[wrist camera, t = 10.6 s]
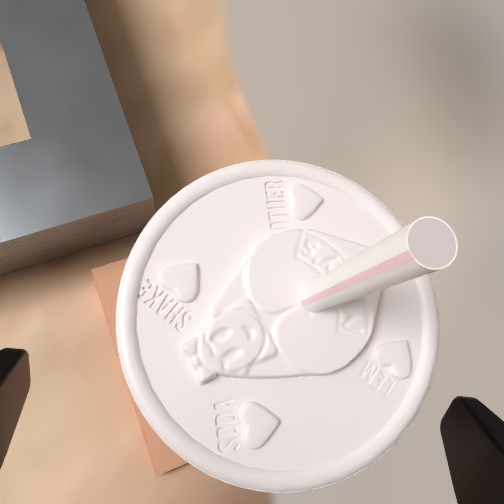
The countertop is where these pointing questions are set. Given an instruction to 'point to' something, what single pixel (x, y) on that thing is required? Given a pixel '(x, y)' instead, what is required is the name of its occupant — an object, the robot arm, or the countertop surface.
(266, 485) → the smoothie
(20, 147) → the socket block
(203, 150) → the countertop surface
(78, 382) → the countertop surface
